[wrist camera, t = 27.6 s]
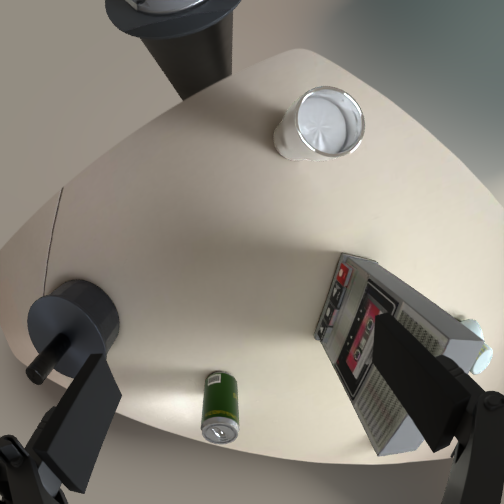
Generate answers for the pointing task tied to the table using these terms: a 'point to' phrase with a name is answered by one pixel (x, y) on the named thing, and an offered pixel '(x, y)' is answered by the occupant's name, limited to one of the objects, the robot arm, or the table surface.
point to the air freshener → (485, 351)
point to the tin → (93, 306)
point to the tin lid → (61, 337)
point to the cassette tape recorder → (362, 337)
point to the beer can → (220, 409)
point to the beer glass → (320, 126)
